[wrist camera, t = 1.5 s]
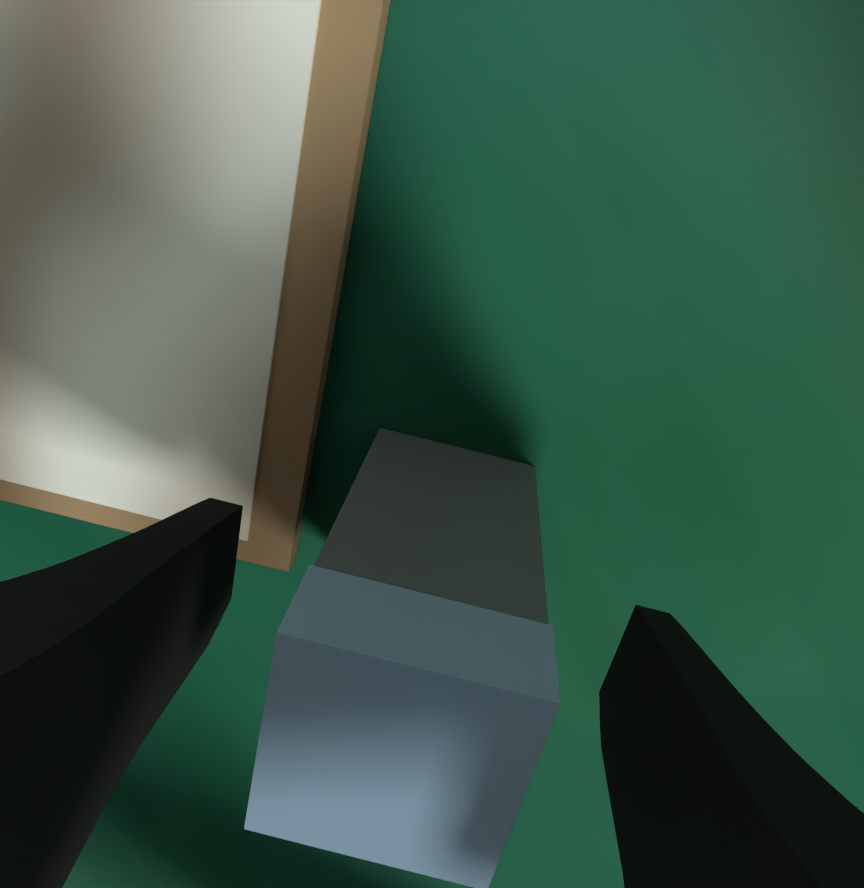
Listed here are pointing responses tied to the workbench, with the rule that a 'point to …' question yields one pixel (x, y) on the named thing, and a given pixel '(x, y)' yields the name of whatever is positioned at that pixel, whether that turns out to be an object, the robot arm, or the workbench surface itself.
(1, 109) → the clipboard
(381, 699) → the block
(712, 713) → the robot arm
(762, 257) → the workbench surface
